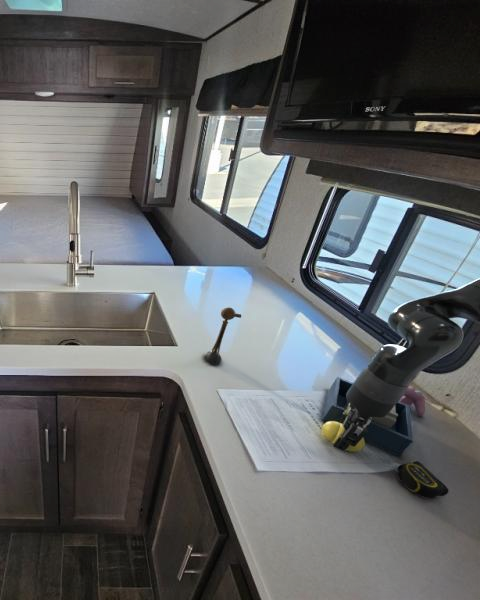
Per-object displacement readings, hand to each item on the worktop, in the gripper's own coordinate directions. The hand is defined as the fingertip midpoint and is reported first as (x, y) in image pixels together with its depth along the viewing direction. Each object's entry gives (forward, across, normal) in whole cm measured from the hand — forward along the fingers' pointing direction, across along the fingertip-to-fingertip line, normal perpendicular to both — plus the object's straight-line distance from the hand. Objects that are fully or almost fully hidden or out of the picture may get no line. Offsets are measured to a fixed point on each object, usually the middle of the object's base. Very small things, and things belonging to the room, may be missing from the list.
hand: (339, 438), depth 77 cm
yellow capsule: (+2, +1, 0) cm, 2 cm away
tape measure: (+2, 0, -15) cm, 15 cm away
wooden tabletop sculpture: (+2, +10, +34) cm, 35 cm away
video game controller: (+2, +27, -12) cm, 30 cm away
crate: (+2, +13, -4) cm, 14 cm away
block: (+2, +13, -4) cm, 14 cm away
